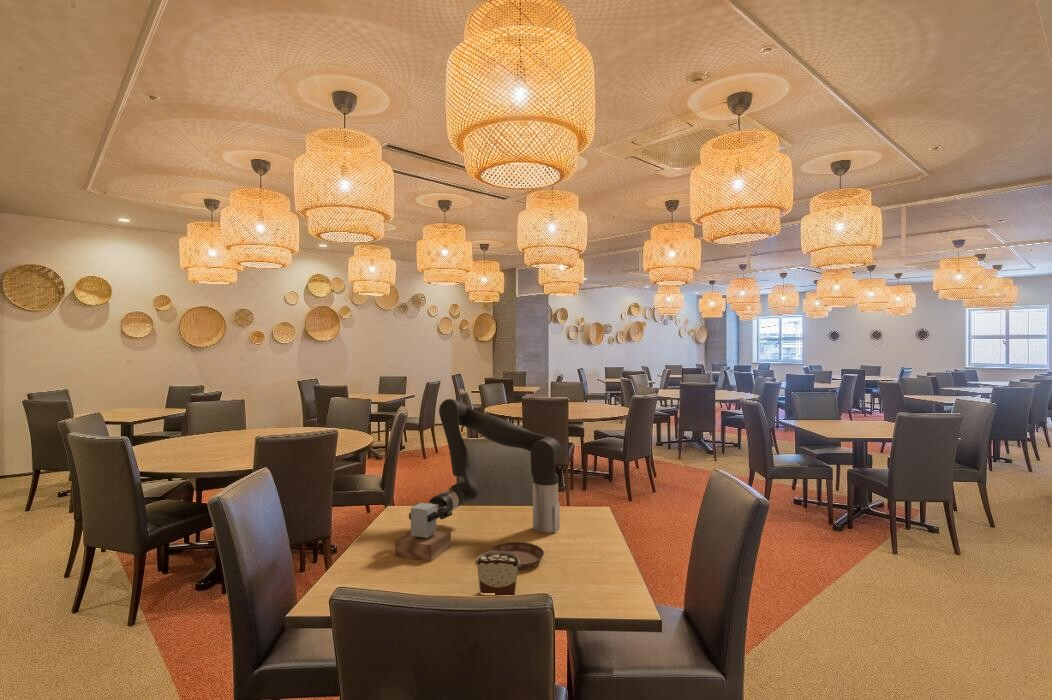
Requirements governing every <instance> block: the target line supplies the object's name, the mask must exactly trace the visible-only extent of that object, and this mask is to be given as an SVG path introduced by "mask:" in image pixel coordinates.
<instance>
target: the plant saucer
mask: <svg viewBox="0 0 1052 700" xmlns="http://www.w3.org/2000/svg"><path fill="white" fill-rule="evenodd" d="M491 551H506V552H510V553H513V554H515V555H517V556H518V559H519V561H520V566H519V563H518V571H523V570H527V569H531V568H534V567H535V566H537V565H538V564H539V563H540V562H541V561H542V559H543V557H544V556H545V551H544V549H543V547H542V548H541V547H540V546H539V545H537V544H533V543H530V542H523V541H509V542H503V543H499V544H496V545H493V546H492V547H491V548H489V549H488V551H487V552H491Z"/></svg>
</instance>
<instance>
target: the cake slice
mask: <svg viewBox="0 0 1052 700" xmlns="http://www.w3.org/2000/svg"><path fill="white" fill-rule="evenodd" d="M518 563H519V566H520V561H519V559H518V556H517V555H515V554H513V553H510V552H506V551H491V552H488V551H485V552H483V553H482V554H479V555H478V556H477V557H476V560H475V564H474V566H477V577H478V586H479V594H480V593H481V592H482V593H495V595H515V596H516V589H517V578H518V571H519V570H518Z"/></svg>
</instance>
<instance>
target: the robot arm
mask: <svg viewBox="0 0 1052 700" xmlns="http://www.w3.org/2000/svg"><path fill="white" fill-rule="evenodd" d="M438 413H439V417H440V420H441V424H442V427H443V431H444V434H445V438H446V442H447V447H448V451H449V456H450V462H451V463H450V464H451V471H452V475H453V477H456V478H457V477H458V478H461V477H462V478H463V479H464V481H462V482H459V483H456V484H453V485H451V486H450V487H449V489H447V490H445V491H441V492H440V493H439V494H436V495H434V496H433V497H431V498H430V499H429V501H428V502H427V504H436V510H435V511H434V512H432V513H431V514H429V515H428V516H427V522H430V521H432V520H434V519H436V520H438V519H439V520H445V519H446V518H448V517H451V516H453V511H454V510H455V509H456V508H458V507H460V506H461V505H462V504H463V503H464V502H467V501H471V500H475V499H477V497H478V495H479V492H480V491H479V490H480V489H479V485H478V483H477V481H476V479H475V476H474V473H473V472H472V469H471V461H470V455H469V452H468V449H467V446H466V443H465V441H464V439H463V436H462V434H461V429H460V426H461V427H465V428H468V429H471V430H473V431H474V432H476V433H478V434H479V435H481V436H482V437H484V438H486V439H488V440H489V441H491V442H494V443H496V444H498V445H502V446H505V447H511V448H516V449H522V450H526V451H529V452H530V473H531V477H532V530H533V531H534V532H537V533H542V534H550V533H551V534H552V533H554V534H555V533H556V532H557V531H559V529H560V528H561V527H560V525H561V523H560V522H561V519H560V517H561V515H560V514H561V512H560V508H561V507H560V504H561V503H560V502H559V476H558V474H557V473H556V470H555V461H557V460H558V459H559V458H560V457H561V455H562V450H563V449H562V446H561V444H560V443H559V441H558V440H557V439H556V438H553V437H551V436H546V435H543V434H540V433H536V432H533V431H531V430H528V429H526V428H523V427H521V426H520V425H517V424H515V423H512V422H510V421H508V420H505V419H503V418H501V417H498V416H495V415H491V414H489V413H483V412H479V410H478V411H477V410H476V409H474V408H472V407H470V406H468V405H467V404H465V403H463V402H462V401H459V400H456V399H452V398H448V399H445V400H443V401H442V402H441V404H440V405H439V408H438ZM419 503H420V502H418V503H415V504H414V505H413V506H415V505H417V504H419ZM413 506H412V507H413ZM412 507H410V509H411V508H412ZM408 518H409V520H410V521H411V512H409V513H408Z"/></svg>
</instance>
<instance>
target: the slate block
mask: <svg viewBox="0 0 1052 700" xmlns="http://www.w3.org/2000/svg"><path fill="white" fill-rule="evenodd" d="M418 503H419V504H417V503H416V504H417V505H415V504H414V505H415V506H414V505H413V506H412V508H411V507H410V513H411V520H410V531H411V536H417V537H424V538H428V537H429V536H431V535H432V534H434V533H435V532H436V530H437V519H434V520H432V521H430V522H427V516H428V515H429V514H431V513H432V512H434V511H435V510H436V504H427V503H428V502H427V503H426V502H418Z"/></svg>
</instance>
